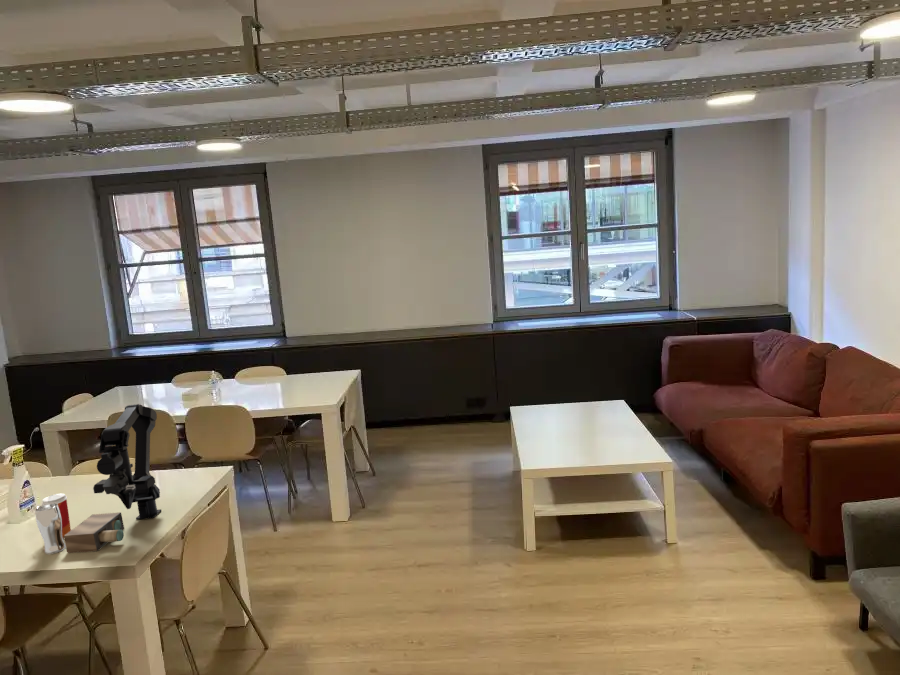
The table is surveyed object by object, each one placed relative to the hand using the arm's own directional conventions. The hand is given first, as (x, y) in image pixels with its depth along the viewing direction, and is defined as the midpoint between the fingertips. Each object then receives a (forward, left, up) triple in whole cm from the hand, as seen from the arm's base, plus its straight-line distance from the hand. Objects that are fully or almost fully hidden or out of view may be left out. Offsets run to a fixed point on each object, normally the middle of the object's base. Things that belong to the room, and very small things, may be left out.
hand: (129, 508), depth 228 cm
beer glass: (+9, -22, -9) cm, 25 cm away
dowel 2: (0, -10, -8) cm, 12 cm away
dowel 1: (+8, -4, -8) cm, 12 cm away
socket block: (+4, -11, -9) cm, 15 cm away
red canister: (-2, -27, -9) cm, 29 cm away
